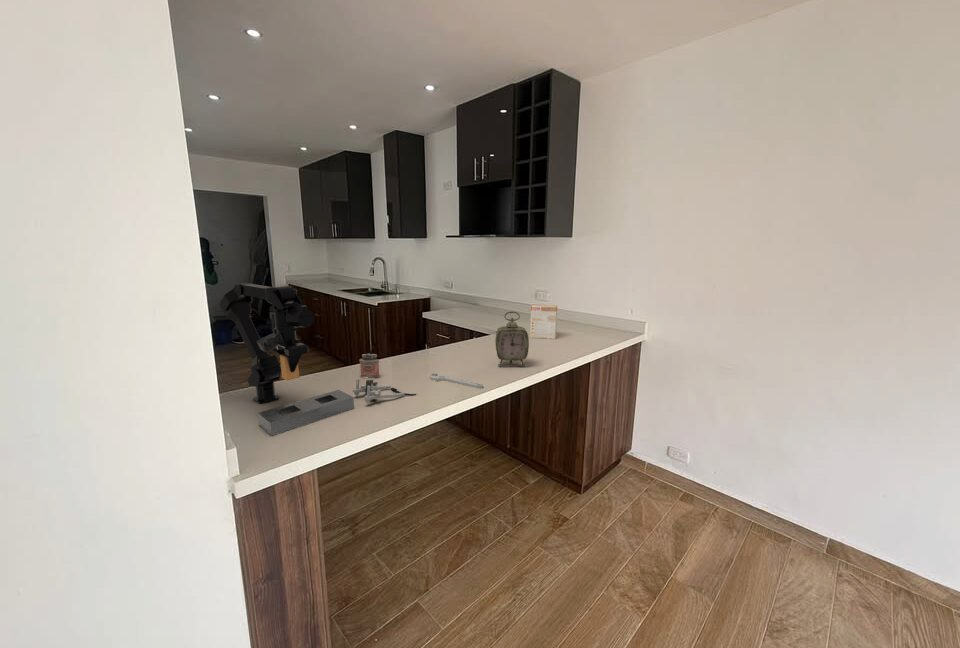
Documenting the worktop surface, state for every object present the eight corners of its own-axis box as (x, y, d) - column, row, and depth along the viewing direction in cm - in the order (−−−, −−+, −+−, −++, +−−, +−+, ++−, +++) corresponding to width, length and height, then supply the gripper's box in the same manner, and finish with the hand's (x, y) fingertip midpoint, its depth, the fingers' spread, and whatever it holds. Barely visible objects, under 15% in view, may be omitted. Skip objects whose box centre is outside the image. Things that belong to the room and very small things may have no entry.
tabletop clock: (495, 368, 172) (496, 313, 167) (494, 362, 181) (495, 309, 176) (528, 368, 172) (529, 313, 167) (525, 362, 181) (526, 309, 176)
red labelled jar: (359, 378, 159) (357, 354, 157) (362, 375, 162) (361, 352, 160) (377, 378, 158) (376, 355, 156) (380, 376, 161) (379, 353, 159)
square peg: (282, 378, 129) (279, 354, 127) (294, 375, 132) (292, 352, 130) (287, 380, 126) (284, 357, 125) (299, 377, 129) (297, 354, 127)
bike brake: (366, 406, 129) (417, 400, 142) (367, 387, 128) (419, 382, 141) (350, 395, 139) (399, 390, 152) (351, 377, 138) (401, 374, 151)
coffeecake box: (556, 336, 232) (557, 304, 229) (555, 339, 226) (556, 306, 222) (531, 335, 237) (532, 303, 233) (529, 337, 230) (530, 305, 226)
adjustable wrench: (484, 388, 149) (484, 383, 149) (474, 393, 144) (474, 388, 144) (436, 375, 163) (436, 371, 163) (425, 379, 158) (425, 375, 158)
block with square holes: (259, 425, 117) (257, 412, 116) (339, 400, 136) (338, 389, 135) (271, 435, 110) (270, 422, 109) (354, 408, 129) (353, 397, 128)
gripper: (248, 324, 126) (253, 370, 129) (269, 333, 113) (275, 383, 116) (283, 319, 134) (288, 363, 137) (307, 327, 121) (311, 374, 124)
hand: (289, 370), depth 128 cm, fingers closed on square peg, 4 cm apart
